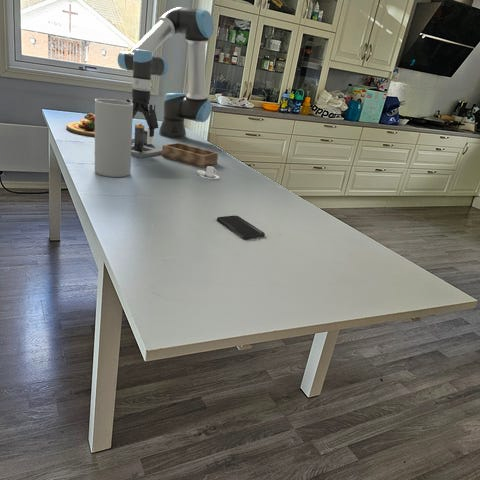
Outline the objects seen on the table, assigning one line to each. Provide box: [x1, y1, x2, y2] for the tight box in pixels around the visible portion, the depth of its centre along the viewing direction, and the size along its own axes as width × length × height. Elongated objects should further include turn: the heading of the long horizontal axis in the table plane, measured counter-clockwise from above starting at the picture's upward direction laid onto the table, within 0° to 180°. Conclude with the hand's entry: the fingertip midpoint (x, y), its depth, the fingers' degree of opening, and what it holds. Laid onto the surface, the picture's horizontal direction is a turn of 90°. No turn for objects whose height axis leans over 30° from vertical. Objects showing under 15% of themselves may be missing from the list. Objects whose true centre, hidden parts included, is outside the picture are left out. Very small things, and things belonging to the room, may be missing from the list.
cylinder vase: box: [94, 98, 134, 178], centre depth 144 cm, size 12×12×25 cm
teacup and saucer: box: [197, 165, 220, 180], centre depth 164 cm, size 9×8×4 cm
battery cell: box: [133, 122, 145, 152], centre depth 181 cm, size 4×4×13 cm
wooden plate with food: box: [66, 112, 95, 138], centre depth 212 cm, size 32×32×8 cm
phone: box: [216, 215, 266, 241], centre depth 118 cm, size 8×1×15 cm
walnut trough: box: [161, 142, 219, 168], centre depth 183 cm, size 22×12×5 cm, turn 62°
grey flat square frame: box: [131, 143, 162, 159], centre depth 184 cm, size 15×15×2 cm
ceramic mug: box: [132, 128, 150, 147], centre depth 199 cm, size 10×8×7 cm
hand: (139, 141), depth 182 cm, fingers open, 11 cm apart
